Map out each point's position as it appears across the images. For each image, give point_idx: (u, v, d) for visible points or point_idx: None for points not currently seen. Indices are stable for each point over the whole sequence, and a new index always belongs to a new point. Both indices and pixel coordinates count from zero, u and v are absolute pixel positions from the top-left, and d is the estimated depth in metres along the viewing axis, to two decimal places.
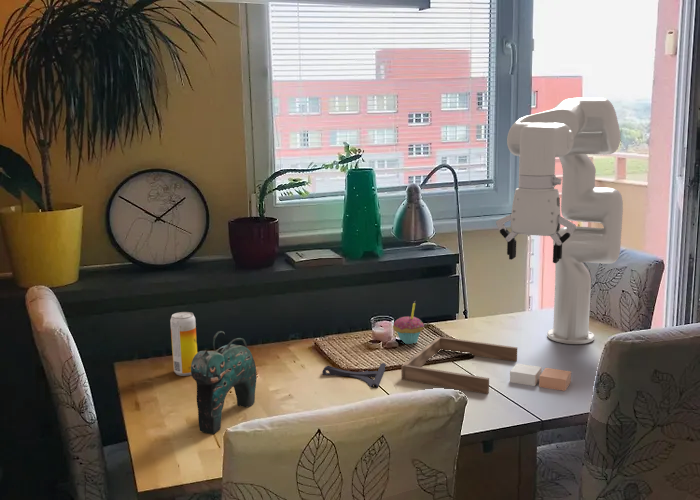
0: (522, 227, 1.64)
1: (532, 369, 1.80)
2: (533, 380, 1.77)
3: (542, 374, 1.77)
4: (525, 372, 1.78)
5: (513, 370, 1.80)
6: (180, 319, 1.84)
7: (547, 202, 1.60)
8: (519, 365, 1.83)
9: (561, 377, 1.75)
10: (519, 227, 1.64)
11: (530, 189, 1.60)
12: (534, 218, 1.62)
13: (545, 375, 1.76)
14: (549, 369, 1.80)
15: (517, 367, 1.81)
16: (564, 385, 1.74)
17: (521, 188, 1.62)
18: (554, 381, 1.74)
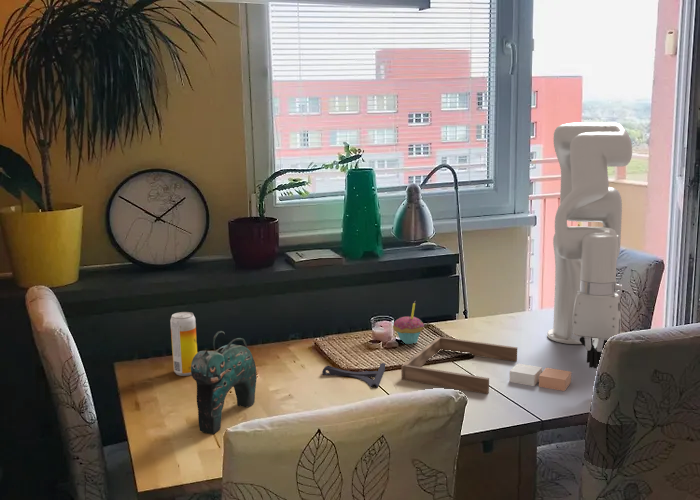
0: (583, 330, 1.70)
1: (532, 369, 1.80)
2: (532, 380, 1.77)
3: (542, 374, 1.77)
4: (524, 372, 1.78)
5: (513, 370, 1.80)
6: (180, 319, 1.84)
7: (609, 307, 1.66)
8: (519, 365, 1.83)
9: (560, 377, 1.75)
10: (580, 330, 1.70)
11: (592, 295, 1.66)
12: (596, 322, 1.68)
13: (545, 375, 1.76)
14: (549, 369, 1.80)
15: (517, 367, 1.81)
16: (563, 385, 1.74)
17: (583, 293, 1.68)
18: (553, 381, 1.74)
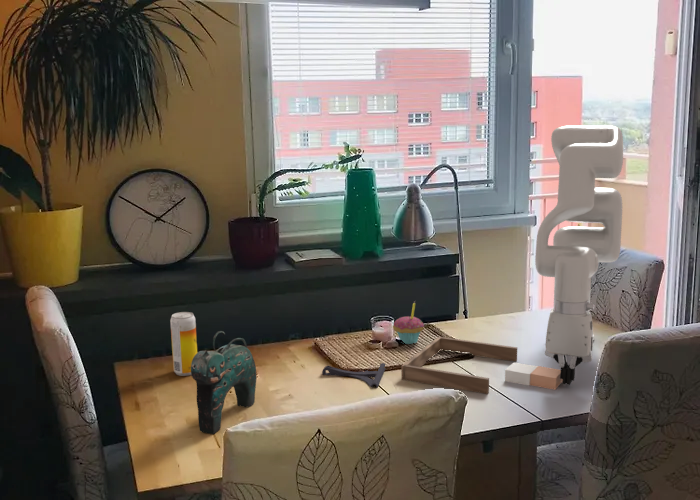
0: (556, 348, 1.73)
1: (528, 368, 1.80)
2: (528, 379, 1.77)
3: (533, 372, 1.78)
4: (520, 371, 1.78)
5: (508, 369, 1.80)
6: (180, 319, 1.84)
7: (581, 326, 1.70)
8: (515, 363, 1.84)
9: (551, 375, 1.76)
10: (554, 347, 1.74)
11: (565, 314, 1.70)
12: (568, 340, 1.72)
13: (536, 373, 1.77)
14: (541, 367, 1.81)
15: (513, 366, 1.82)
16: (554, 383, 1.74)
17: (556, 312, 1.71)
18: (544, 379, 1.75)
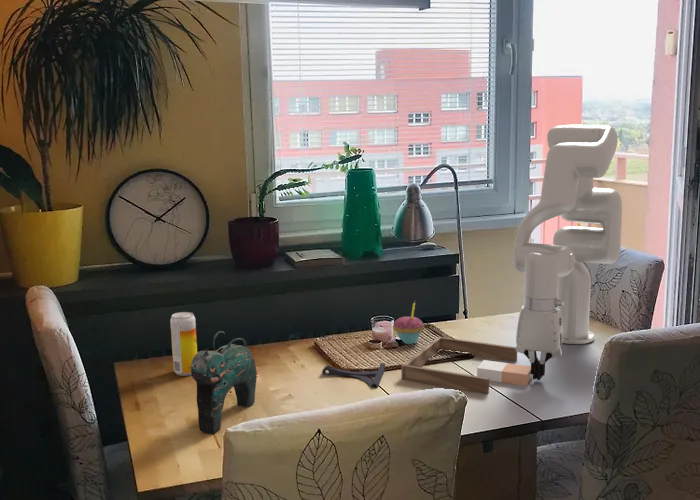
0: (527, 343, 1.77)
1: (499, 365, 1.83)
2: (500, 376, 1.79)
3: (504, 369, 1.80)
4: (491, 368, 1.81)
5: (480, 367, 1.82)
6: (180, 319, 1.84)
7: (550, 322, 1.73)
8: (485, 361, 1.86)
9: (523, 372, 1.78)
10: (524, 343, 1.77)
11: (534, 311, 1.73)
12: (538, 336, 1.75)
13: (507, 370, 1.79)
14: (511, 365, 1.83)
15: (484, 364, 1.84)
16: (526, 380, 1.77)
17: (526, 308, 1.74)
18: (516, 376, 1.78)
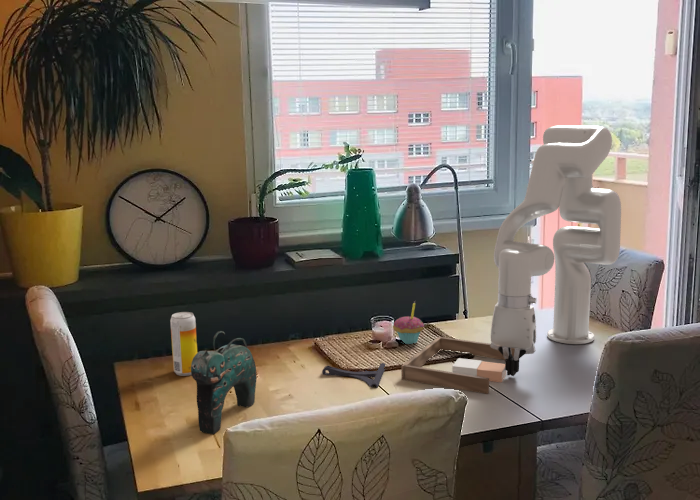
0: (501, 340, 1.79)
1: (473, 363, 1.85)
2: (475, 373, 1.81)
3: (479, 368, 1.82)
4: (466, 366, 1.83)
5: (455, 365, 1.84)
6: (180, 319, 1.84)
7: (523, 319, 1.76)
8: (460, 359, 1.88)
9: (497, 369, 1.81)
10: (498, 340, 1.80)
11: (508, 308, 1.76)
12: (512, 333, 1.78)
13: (482, 368, 1.81)
14: (485, 363, 1.85)
15: (458, 362, 1.86)
16: (501, 377, 1.79)
17: (500, 305, 1.77)
18: (491, 374, 1.80)
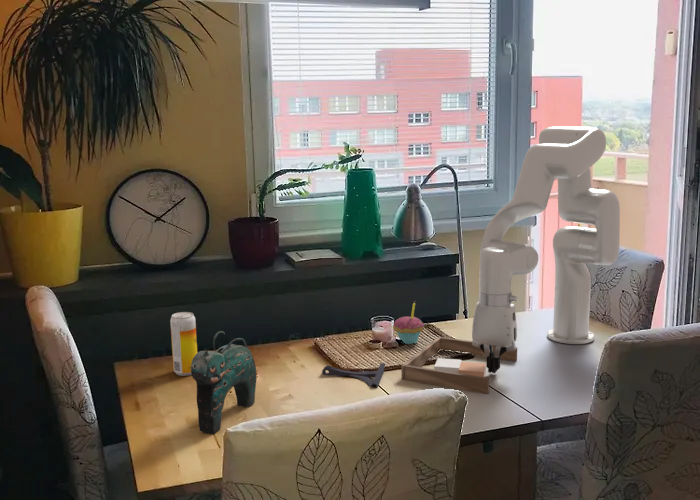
0: (482, 338, 1.82)
1: (454, 362, 1.86)
2: None
3: (460, 368, 1.82)
4: (448, 366, 1.83)
5: (437, 365, 1.84)
6: (180, 319, 1.84)
7: (504, 317, 1.78)
8: (440, 359, 1.88)
9: (478, 369, 1.81)
10: (479, 338, 1.82)
11: (488, 306, 1.78)
12: (492, 331, 1.80)
13: (463, 369, 1.81)
14: (465, 363, 1.85)
15: (439, 362, 1.86)
16: None
17: (481, 303, 1.80)
18: (473, 374, 1.80)
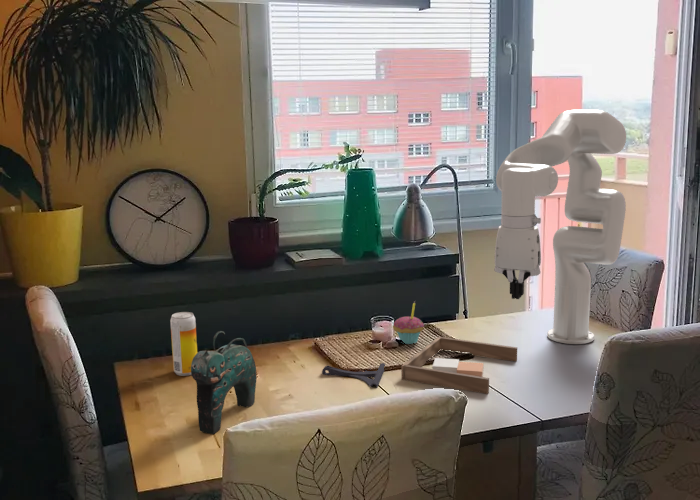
0: (505, 262, 1.76)
1: (452, 362, 1.86)
2: None
3: (458, 368, 1.82)
4: (446, 366, 1.83)
5: (435, 365, 1.84)
6: (180, 319, 1.84)
7: (527, 240, 1.72)
8: (437, 359, 1.88)
9: (477, 369, 1.81)
10: (502, 263, 1.76)
11: (512, 228, 1.72)
12: (516, 255, 1.74)
13: (462, 369, 1.81)
14: (462, 363, 1.85)
15: (437, 362, 1.86)
16: None
17: (503, 227, 1.74)
18: (471, 373, 1.80)
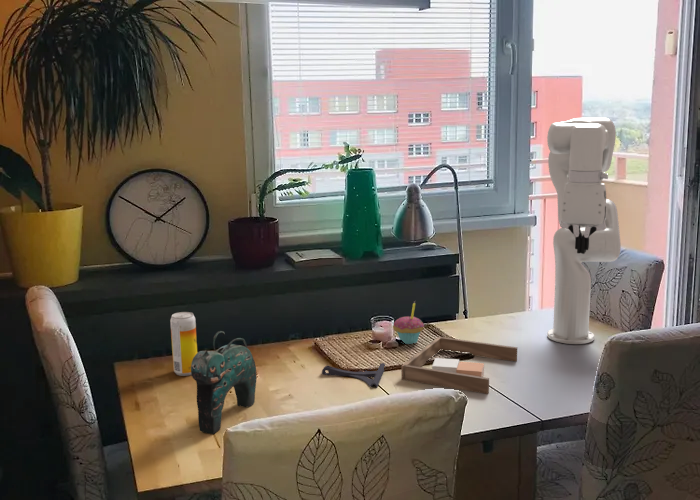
0: (571, 217, 1.81)
1: (452, 362, 1.86)
2: (455, 372, 1.82)
3: (458, 368, 1.82)
4: (446, 366, 1.83)
5: (435, 364, 1.84)
6: (180, 319, 1.84)
7: (595, 194, 1.78)
8: (437, 359, 1.88)
9: (476, 369, 1.81)
10: (569, 217, 1.82)
11: (580, 183, 1.78)
12: (583, 209, 1.80)
13: (461, 368, 1.81)
14: (463, 363, 1.85)
15: (437, 362, 1.86)
16: None
17: (571, 182, 1.79)
18: (470, 373, 1.80)
